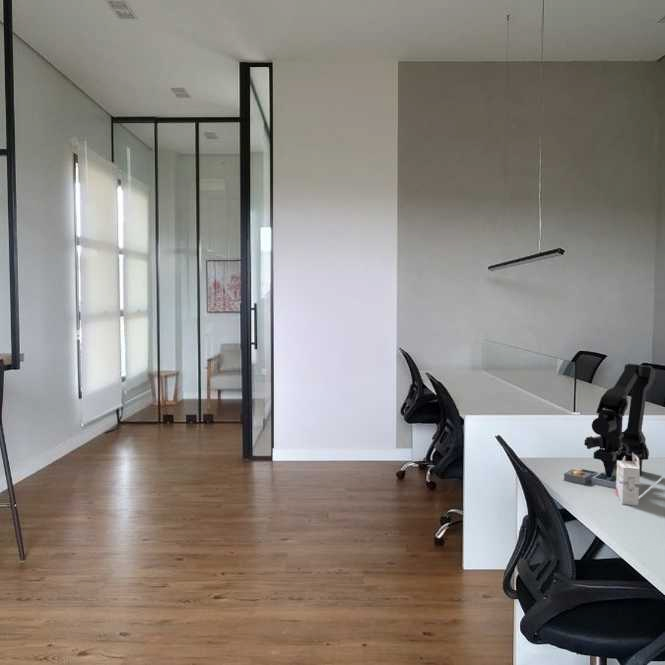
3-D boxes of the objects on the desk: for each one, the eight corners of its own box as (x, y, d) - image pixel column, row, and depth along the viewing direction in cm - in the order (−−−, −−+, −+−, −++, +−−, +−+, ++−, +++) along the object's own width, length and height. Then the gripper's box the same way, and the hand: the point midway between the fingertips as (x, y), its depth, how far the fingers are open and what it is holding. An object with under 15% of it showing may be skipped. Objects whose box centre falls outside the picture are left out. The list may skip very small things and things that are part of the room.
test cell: (606, 477, 209) (606, 465, 209) (617, 480, 207) (618, 467, 206) (602, 480, 206) (603, 467, 206) (614, 482, 204) (614, 470, 204)
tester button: (575, 477, 211) (575, 470, 211) (583, 479, 209) (584, 472, 209) (572, 479, 209) (572, 472, 209) (580, 481, 207) (581, 473, 207)
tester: (578, 471, 221) (579, 463, 221) (601, 476, 216) (602, 468, 216) (562, 481, 209) (562, 473, 209) (586, 487, 204) (586, 478, 204)
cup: (600, 478, 213) (600, 471, 213) (628, 484, 207) (629, 477, 207) (591, 485, 206) (591, 477, 206) (620, 491, 200) (620, 483, 200)
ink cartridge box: (614, 495, 196) (616, 450, 195) (631, 496, 195) (633, 451, 194) (621, 504, 187) (623, 457, 186) (638, 506, 186) (641, 458, 185)
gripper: (597, 422, 218) (595, 465, 219) (578, 431, 204) (576, 477, 205) (630, 427, 210) (628, 472, 211) (613, 436, 196) (611, 484, 197)
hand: (610, 476), depth 206 cm, fingers closed on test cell, 4 cm apart
